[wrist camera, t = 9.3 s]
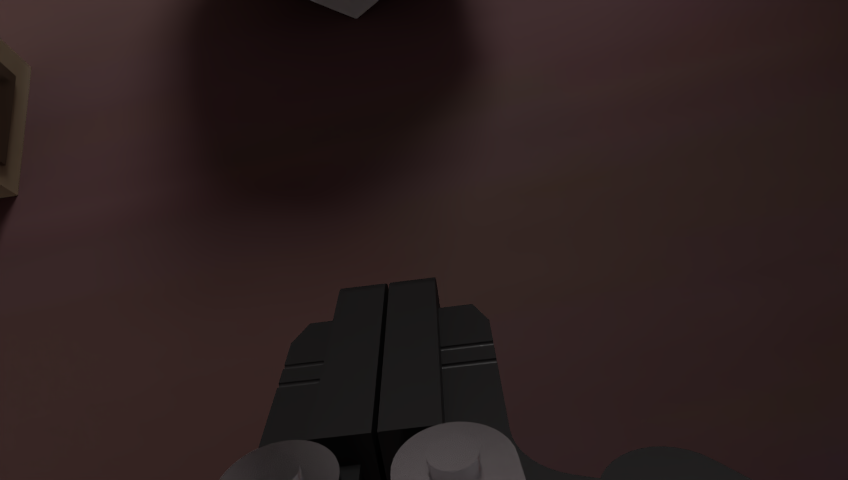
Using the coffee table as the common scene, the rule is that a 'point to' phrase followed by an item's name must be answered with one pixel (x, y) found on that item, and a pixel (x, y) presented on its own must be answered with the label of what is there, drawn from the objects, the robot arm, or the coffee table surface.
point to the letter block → (12, 117)
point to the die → (348, 6)
